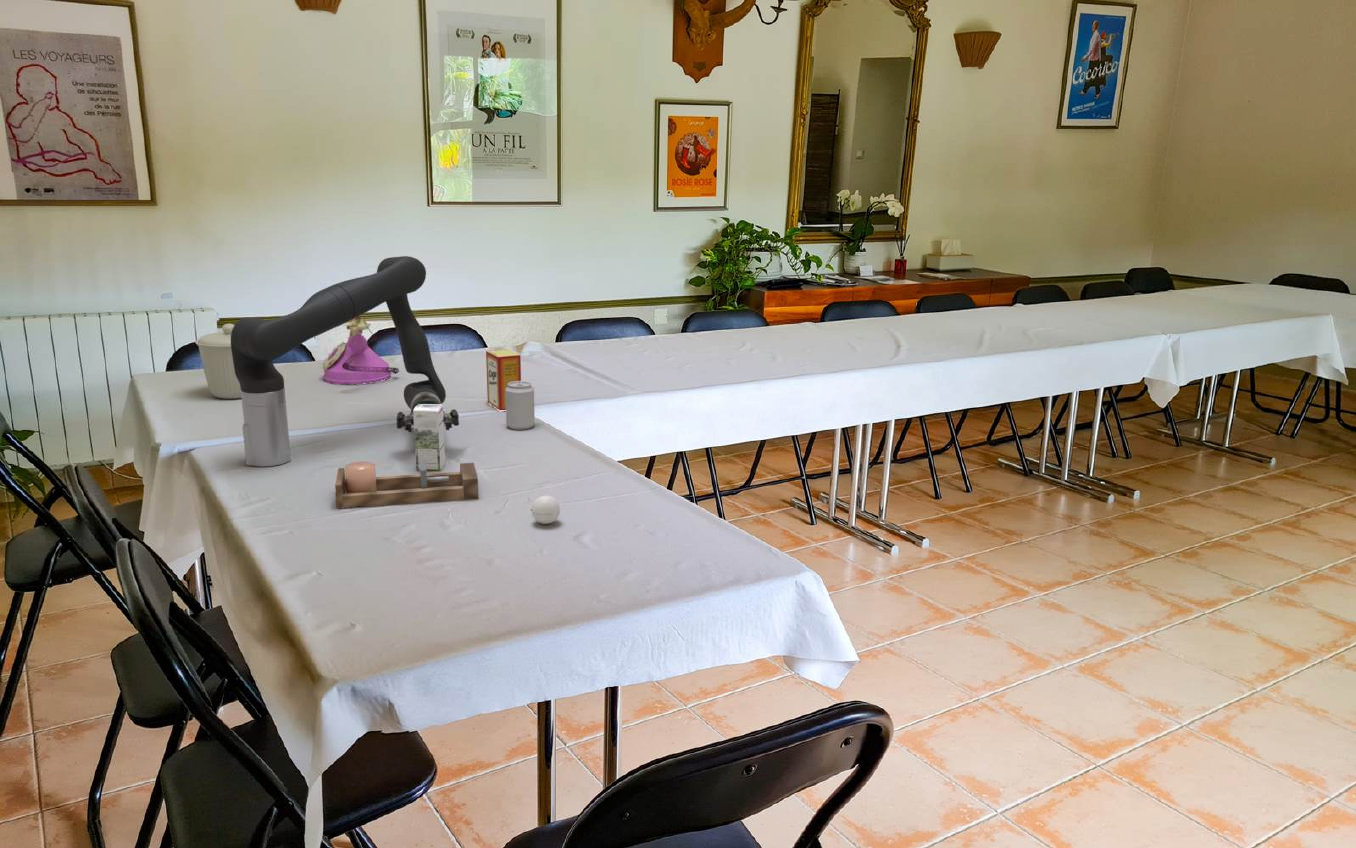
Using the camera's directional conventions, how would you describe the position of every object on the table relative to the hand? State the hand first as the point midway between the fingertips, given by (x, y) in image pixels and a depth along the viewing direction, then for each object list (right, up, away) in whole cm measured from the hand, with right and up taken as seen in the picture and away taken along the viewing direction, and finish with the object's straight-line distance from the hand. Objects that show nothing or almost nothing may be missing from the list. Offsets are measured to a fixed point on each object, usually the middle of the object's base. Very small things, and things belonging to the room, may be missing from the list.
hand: (428, 427), depth 225 cm
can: (+16, 0, +33) cm, 37 cm away
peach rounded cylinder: (-8, -15, -22) cm, 28 cm away
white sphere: (+31, -19, -34) cm, 50 cm away
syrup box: (+1, -9, -1) cm, 10 cm away
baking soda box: (+8, +5, +53) cm, 54 cm away
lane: (0, -14, -20) cm, 24 cm away
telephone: (-41, +14, +79) cm, 90 cm away
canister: (-72, +9, +59) cm, 93 cm away
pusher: (+6, -14, -18) cm, 23 cm away
